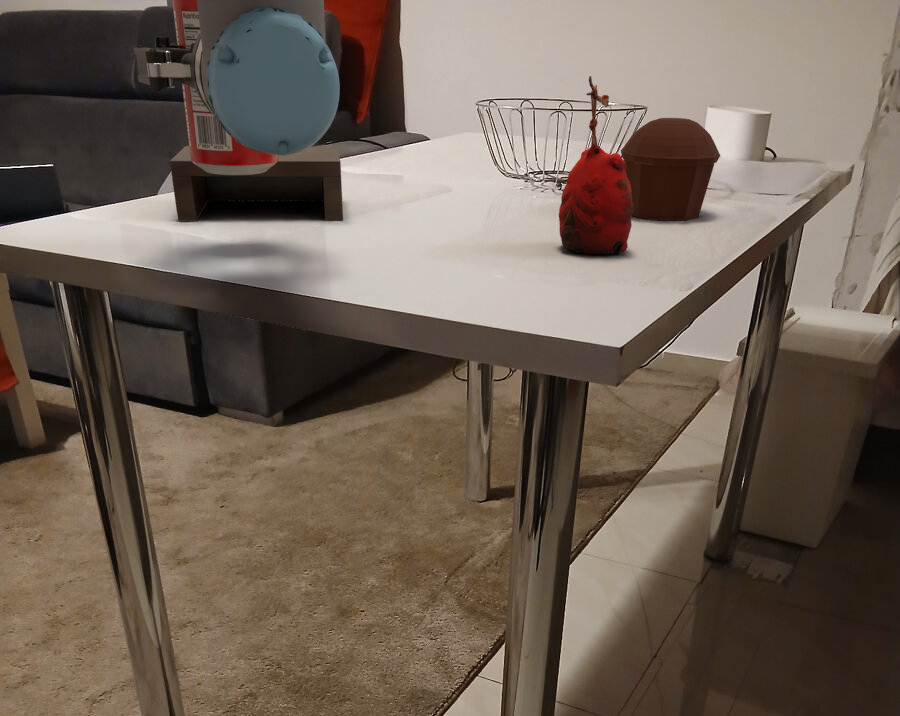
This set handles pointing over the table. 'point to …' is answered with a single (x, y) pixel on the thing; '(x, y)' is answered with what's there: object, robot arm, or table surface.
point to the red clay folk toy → (596, 198)
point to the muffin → (669, 168)
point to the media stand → (261, 183)
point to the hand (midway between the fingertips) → (219, 61)
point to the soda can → (211, 116)
